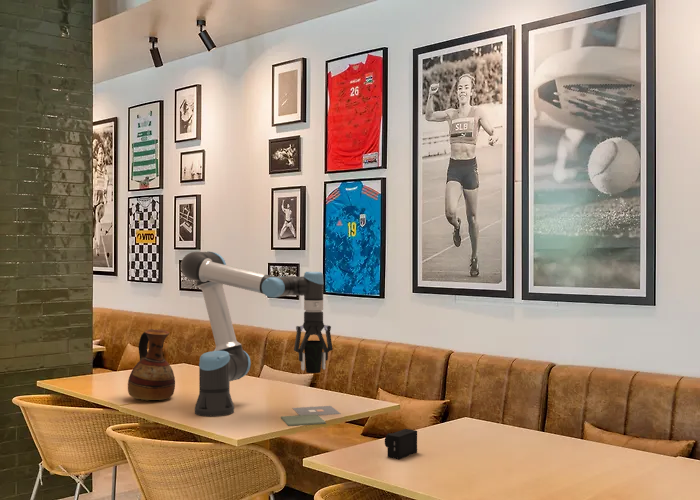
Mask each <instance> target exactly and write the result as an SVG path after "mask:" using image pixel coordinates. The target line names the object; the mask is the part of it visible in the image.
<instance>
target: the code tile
mask: <svg viewBox="0 0 700 500" xmlns="http://www.w3.org/2000/svg"><path fill="white" fill-rule="evenodd" d="M292 410H293V411H295V412H296V414H297V415H313V414H317V415H318V416H328V415H329V416H330V415H341V414H342V413H341V412H340V411H338V410H337V409H336V408H334V407H333V406H332V405H324V406H323V405H322V406H306V407H304V406H303V407H292Z"/></svg>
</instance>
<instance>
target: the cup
mask: <svg viewBox="0 0 700 500" xmlns="http://www.w3.org/2000/svg"><path fill="white" fill-rule="evenodd" d="M305 345H306V346H305V348H304V351H303V353H305V373H307V374H318V373H319V374H320V373H321V370H322V352H323V351H324V350H323V342H320V340H319V339H317V340H316V339H315V340H313V339H312V340H309V339H308V341H307V342H305Z"/></svg>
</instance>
